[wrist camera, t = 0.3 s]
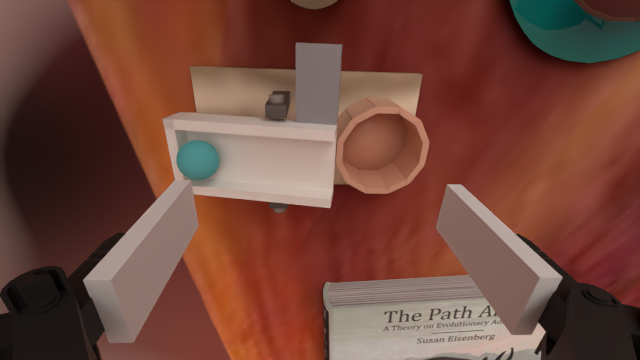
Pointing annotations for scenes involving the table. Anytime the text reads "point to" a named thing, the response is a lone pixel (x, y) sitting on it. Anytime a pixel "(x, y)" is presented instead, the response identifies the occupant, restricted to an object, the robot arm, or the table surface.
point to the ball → (197, 160)
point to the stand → (291, 94)
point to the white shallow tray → (273, 140)
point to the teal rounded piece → (581, 27)
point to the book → (418, 322)
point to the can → (313, 3)
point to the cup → (379, 145)
